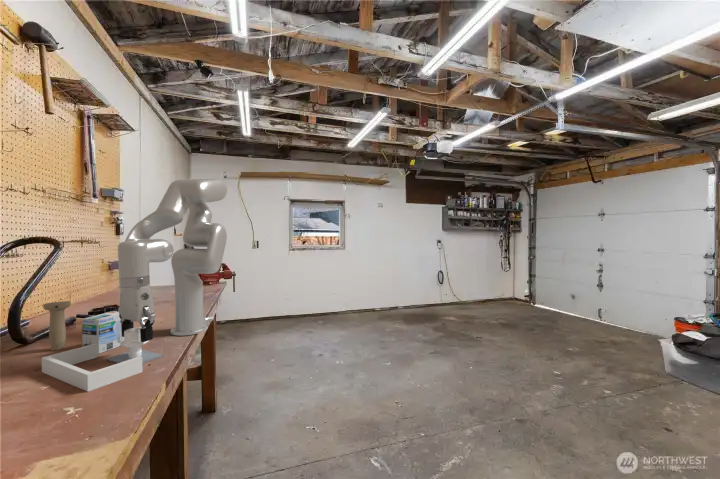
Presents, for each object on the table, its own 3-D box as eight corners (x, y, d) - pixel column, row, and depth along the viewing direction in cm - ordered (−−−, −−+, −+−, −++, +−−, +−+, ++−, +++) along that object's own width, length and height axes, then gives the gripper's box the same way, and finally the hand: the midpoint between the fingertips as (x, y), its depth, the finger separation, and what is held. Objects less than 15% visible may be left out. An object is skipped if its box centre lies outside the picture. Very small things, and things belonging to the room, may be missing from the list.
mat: (139, 349, 104) (139, 348, 104) (162, 356, 99) (162, 354, 99) (107, 359, 96) (107, 358, 96) (130, 367, 91) (130, 365, 91)
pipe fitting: (149, 357, 97) (148, 330, 97) (119, 362, 93) (119, 334, 93) (149, 350, 103) (149, 325, 102) (121, 355, 99) (121, 328, 99)
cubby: (95, 356, 99) (95, 343, 99) (142, 371, 88) (142, 357, 88) (41, 372, 88) (41, 357, 88) (87, 391, 77) (87, 375, 77)
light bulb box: (98, 354, 101) (98, 319, 101) (81, 352, 102) (80, 318, 102) (129, 343, 111) (129, 311, 111) (113, 341, 113) (112, 310, 112)
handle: (70, 349, 105) (70, 303, 105) (43, 353, 101) (42, 305, 101) (71, 345, 109) (70, 300, 109) (44, 349, 105) (43, 303, 104)
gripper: (165, 282, 97) (167, 338, 98) (131, 277, 105) (133, 330, 106) (138, 287, 90) (141, 347, 91) (104, 281, 98) (107, 337, 99)
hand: (137, 338), depth 99 cm, fingers open, 9 cm apart
